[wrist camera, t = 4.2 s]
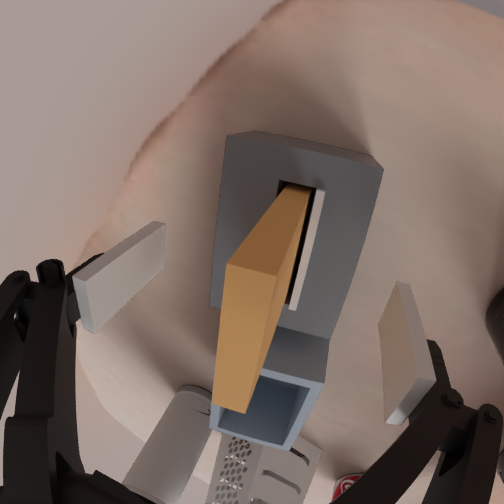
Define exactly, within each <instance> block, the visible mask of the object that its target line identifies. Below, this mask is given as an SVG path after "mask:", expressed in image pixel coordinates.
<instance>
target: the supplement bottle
mask: <svg viewBox="0 0 504 504" xmlns="http://www.w3.org/2000/svg"><path fill="white" fill-rule="evenodd" d="M486 325H487V329H488V332H489V334H490V337H491V339H492V341H493V343H494V345H495V347H496V349H497V352H498V354H499V356H500V358H501V361H502V363H503V365H504V288H503V289H502V290H501V291H500V292H499V293H498V294H497V295H496V297H495V298H494V300H493V301H492V303H491V305H490V307H489V310H488V313H487V318H486Z"/></svg>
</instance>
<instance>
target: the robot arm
mask: <svg viewBox="0 0 504 504" xmlns="http://www.w3.org/2000/svg"><path fill="white" fill-rule="evenodd" d="M165 232H166V224H165V223H161V222H157V221H153V222H151V223H150V224H148V225H147V226H145V227H144V228H142V229H140V230H139V231H137V232H136V233H134V234H133V235H131V236H130V237H128V238H127V239H125V240H124V241H122V242H121V243H119V244H118V245H116V246H115V247H113V248H112V249H110V250H109V251H107V252H106V253H101V254H98V255H95V256H93V257H91V258H90V259H88V260H87V261H86V262H84V263H83V264H81V266H78V267H77V268H75V269H74V270H73V271H71V272H70V273H68V274H67V275H65V271H64V266H63V262H62V261H60V260H57V259H49V260H45V261H43V262H41V263H39V264H38V265H37V267H36V271H37V275H38V279H39V283H38V282H33V281H31V280H30V276H29V273H28V272H27V271H23V270H21V271H20V270H19V271H15V272H13V273H11V274H10V275H8V276H7V277H6V279H5V280H4V281H3V282H2V284H1V285H0V419H1V416H2V413H3V411H4V408H5V405H6V403H7V400H8V397H9V395H10V392H11V389H12V387H13V385H14V382H15V380H16V377H17V375H18V373H19V370H20V374H19V380H18V387H17V396H16V405H15V414H14V416H13V417H8V418H7V419H6V422H5V430H4V447H3V448H4V449H3V486H0V504H147V503H145V502H144V501H143V500H142V499H140V498H139V497H138V496H137V495H135V494H134V493H133V492H132V491H130V490H129V489H128V488H127V487H126V486H124V485H123V484H121V483H119V482H117V481H115V480H113V479H111V478H110V477H108V476H106V475H104V474H102V473H101V472H99V471H97V470H95V472H94V473H93V475H92V474H87V473H85V470H84V467H83V464H82V462H81V459H80V455H79V446H78V434H77V419H76V398H75V397H76V396H75V356H76V334H77V327H76V323H75V322H76V321H78V320H79V319H80V318H81V322H82V326H83V328H84V329H86V330H88V331H90V332H92V333H94V334H96V333H97V332H98V331H99V330H100V329H101V328H102V327H103V326H104V325H105V324H106V323H107V322H108V321H109V320H110V319H111V318H112V317H113V316H114V315H115V314H116V313H117V312H118V311H119V310H120V309H121V308H122V307H124V306H125V305H126V304H127V303H128V302H129V301H130V300H131V299H132V298H133V297H134V296H135V295H136V294H137V293H138V292H139V291H140V290H141V289H142V288H143V287H144V286H145V285H147V284H148V283H149V282H150V281H151V280H152V279H153V278H154V277H155V276H156V275H157V274H158V273H159V272H160V271H161V270H163V269H164V268H165ZM14 314H16V317H15V319H14ZM378 325H379V335H380V345H381V357H382V370H383V387H384V414H385V423H387V424H395V425H402V424H403V423H404V422H405V420H406V419H407V418H408V417H409V426H408V427H407V428H406V429H405V431H404V432H403V433H402V434H401V435H400V436H399V437H398V438H397V440H396V441H395V442H394V443H393V444H392V445H391V446H390V447H389V448H388V449H387V450H386V452H385V453H384V454H383V455H382V456H381V457H380V458H379V459H378V460H377V461H376V462H375V463H374V464H373V465H372V466H371V467H370V468H369V469H368V470H367V471H366V472H365V473H363V474H362V475H361V476H360V477H359V478H358V479H357V480H356V481H355V482H354V483H353V484H352V485H350V486H349V487H348V488H347V489H346V490H345V491H344V492H343V493H341V494H340V495H339V496H338V497H337V498H335V499H334V500H333V501H332V502H331V503H329V504H395V503H396V502H397V501H398V500H399V499H400V497H401V496H402V495H403V494H404V493H405V491H406V490H407V489H408V488H409V487H410V485H411V484H412V483H413V482H414V480H415V479H416V478H417V477H418V475H419V474H420V473H421V471H422V470H423V469H424V467H425V466H426V465H427V463H428V462H429V461H430V459H431V458H432V456H433V455H434V454H435V452H436V451H437V450H439V451H442V452H441V455H440V458H439V461H438V464H437V467H436V469H435V472H434V475H433V477H432V480H431V482H430V485H429V487H428V490H427V492H426V494H425V497H424V499H423V501H422V504H489V500H490V496H491V492H492V488H493V483H494V479H495V474H496V468H497V473H498V475H499V476H500V477H501V479H502V481H503V483H504V451H503V452H502V453H501V454H500V455H499V451H500V444H501V436H502V427H503V417H502V414H501V412H500V411H499V410H498V408H496V407H495V406H494V405H491V404H483V405H482V406H481V407H480V408H479V409H478V410H475V409H472V408H470V407H468V406H465V405H464V402H463V398H462V397H461V395H460V394H459V393H458V392H457V391H456V390H455V389H453V388H451V385H450V381H449V377H448V374H447V370H446V366H445V363H444V359H443V355H442V352H441V349H440V348H439V346H438V345H437V343H436V342H435V341H432V340H427V339H426V336H425V333H424V329H423V326H422V322H421V319H420V315H419V312H418V309H417V305H416V302H415V299H414V296H413V293H412V290H411V287H410V285H409V284H405V283H401V282H396V284H395V287H394V289H393V291H392V294H391V296H390V299H389V301H388V303H387V306H386V308H385V310H384V313H383V315H382V317H381V319H380V321H379V324H378Z"/></svg>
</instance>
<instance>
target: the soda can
mask: <svg viewBox="0 0 504 504" xmlns="http://www.w3.org/2000/svg"><path fill="white" fill-rule="evenodd" d="M361 475H362V474H350V475H346V476H344V477H342V478H341V479H339V480H337V481H336V483H335V486H334V490H333V495H332V501H333V500H334V499H335V498H337V497H338V496H339V495H340V494H341V493H343V492H344V491H345V490H346V489H347V488H348V487H349V486H350V485H352V484H353V483H354V482H355V481H356V480H357V479H358V478H359V477H360V476H361ZM332 501H331V502H332Z"/></svg>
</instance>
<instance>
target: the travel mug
mask: <svg viewBox="0 0 504 504" xmlns="http://www.w3.org/2000/svg"><path fill="white" fill-rule="evenodd" d="M211 402H212V394H211V393H210V392H208V391H207V390H205V389H202V388H200V387H196V386H191V385H187V386H183V387H181V388H179V389H178V391H177V393H176V394H175V396H174V398H173V399H172V401H171V403H170V404H169V406H168V408H167V409H166V411H165V413H164V414H163V416H162V418H161V419H160V421H159V422H158V424H157V426H156V427H155V429H154V431H153V432H152V434H151V436H150V437H149V439H148V441H147V442H146V444H145V446H144V447H143V449H142V450H141V452H140V454H139V455H138V457H137V459H136V460H135V462H134V463H133V465H132V467H131V468H130V470H129V472H128V473H127V475H126V477H125V478H124V480H123V481H122V484H123V485H124V486H126V487H127V488H128V489H129V490H130V491H132V492H133V493H134V494H135V495H137V496H138V497H139V498H140V499H142V500H143V501H144V502H145V503H147V504H177V503H178V501H179V498H180V497H181V495H182V492H183V491H184V488H185V486H186V484H187V482H188V480H189V478H190V476H191V474H192V472H193V470H194V468H195V466H196V463H197V461H198V459H199V457H200V455H201V453H202V451H203V449H204V446H205V444H206V442H207V440H208V438H209V436H210V433H211V431H212V429H210V428H209V425H210V413H211Z"/></svg>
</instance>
